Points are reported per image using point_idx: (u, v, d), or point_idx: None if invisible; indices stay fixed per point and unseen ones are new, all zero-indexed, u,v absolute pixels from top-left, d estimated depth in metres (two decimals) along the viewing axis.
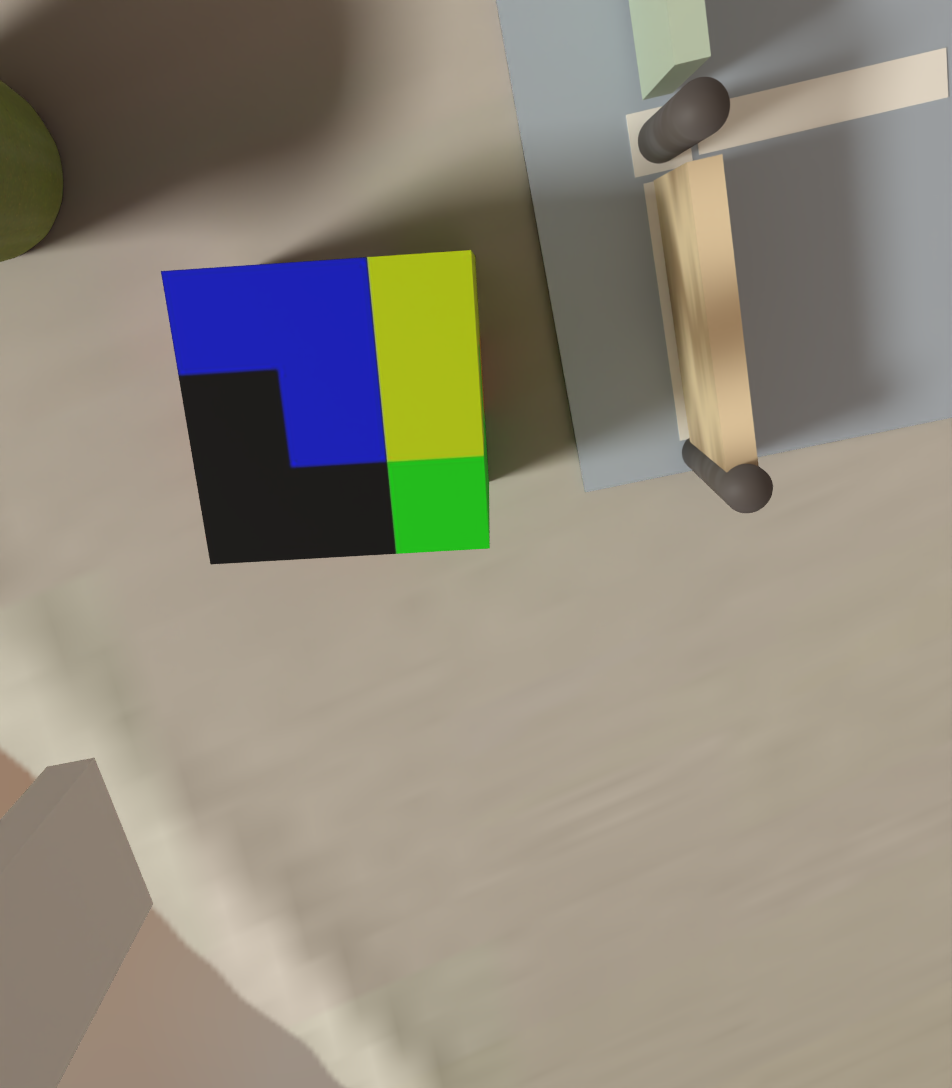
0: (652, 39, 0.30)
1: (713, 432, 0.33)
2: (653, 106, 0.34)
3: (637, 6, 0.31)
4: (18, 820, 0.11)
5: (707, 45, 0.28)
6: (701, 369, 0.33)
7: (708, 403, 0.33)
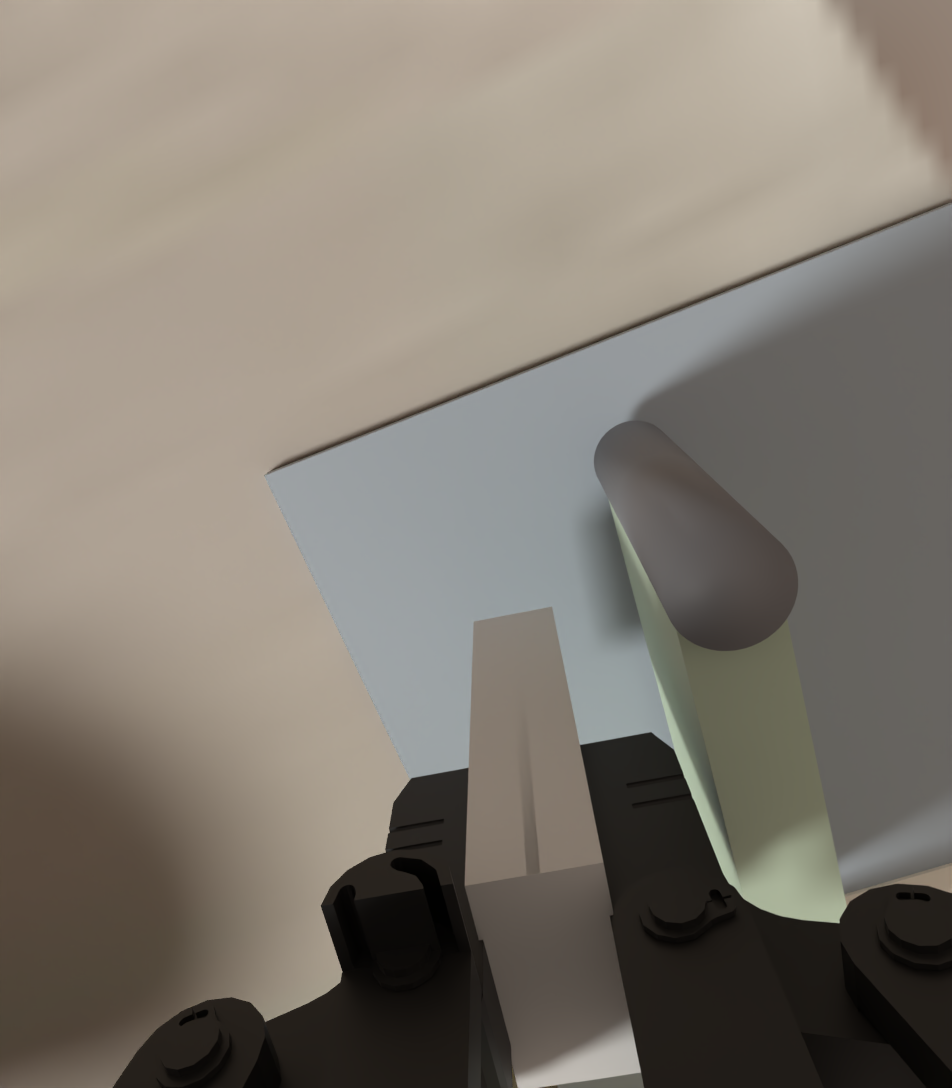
0: None
1: None
2: None
3: None
4: (492, 652, 0.13)
5: None
6: None
7: None
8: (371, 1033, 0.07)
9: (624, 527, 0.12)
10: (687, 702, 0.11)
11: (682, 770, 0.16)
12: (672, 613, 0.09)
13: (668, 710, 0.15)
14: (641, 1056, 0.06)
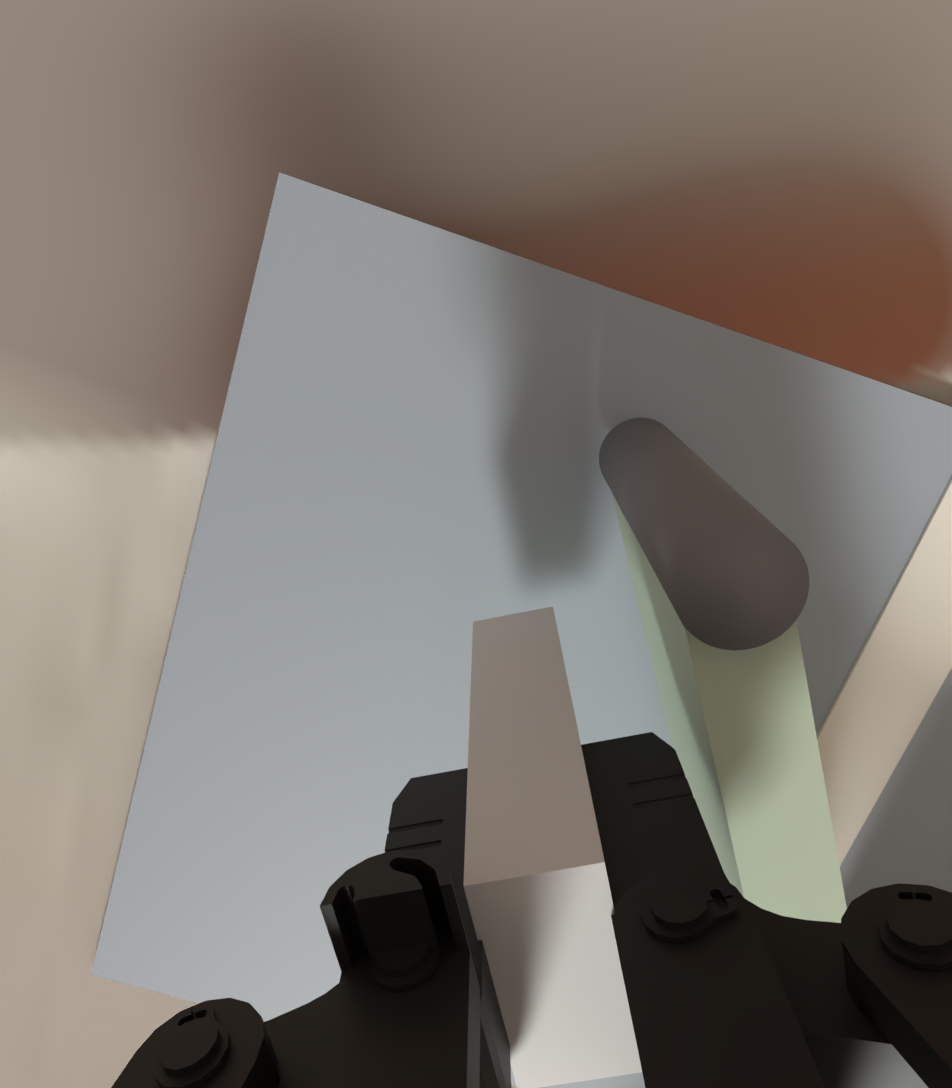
0: None
1: None
2: None
3: None
4: (492, 652, 0.13)
5: None
6: None
7: None
8: (370, 1033, 0.07)
9: (631, 524, 0.12)
10: (692, 701, 0.11)
11: None
12: (682, 611, 0.09)
13: (667, 708, 0.15)
14: (643, 1055, 0.06)
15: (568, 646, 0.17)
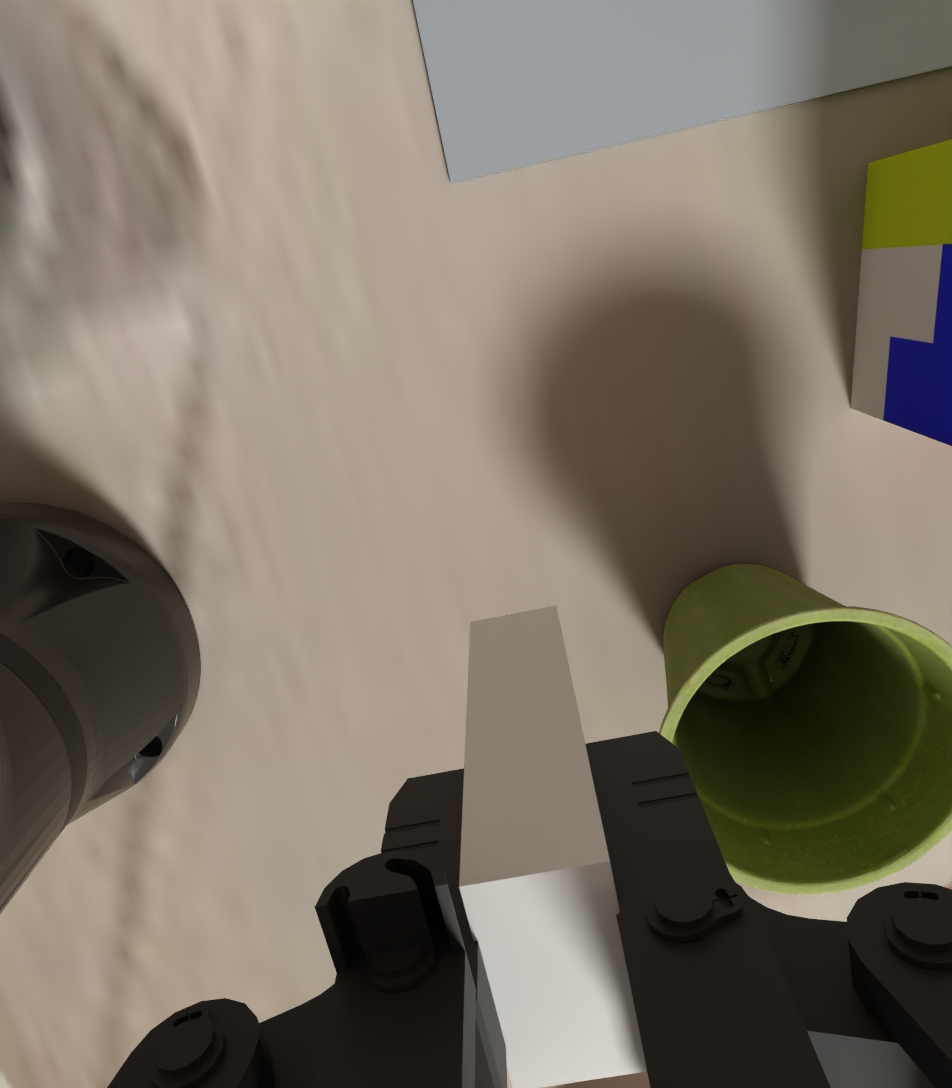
0: None
1: None
2: None
3: None
4: (489, 653, 0.13)
5: None
6: None
7: None
8: (366, 1034, 0.07)
9: None
10: None
11: None
12: None
13: None
14: (647, 1054, 0.06)
15: None
